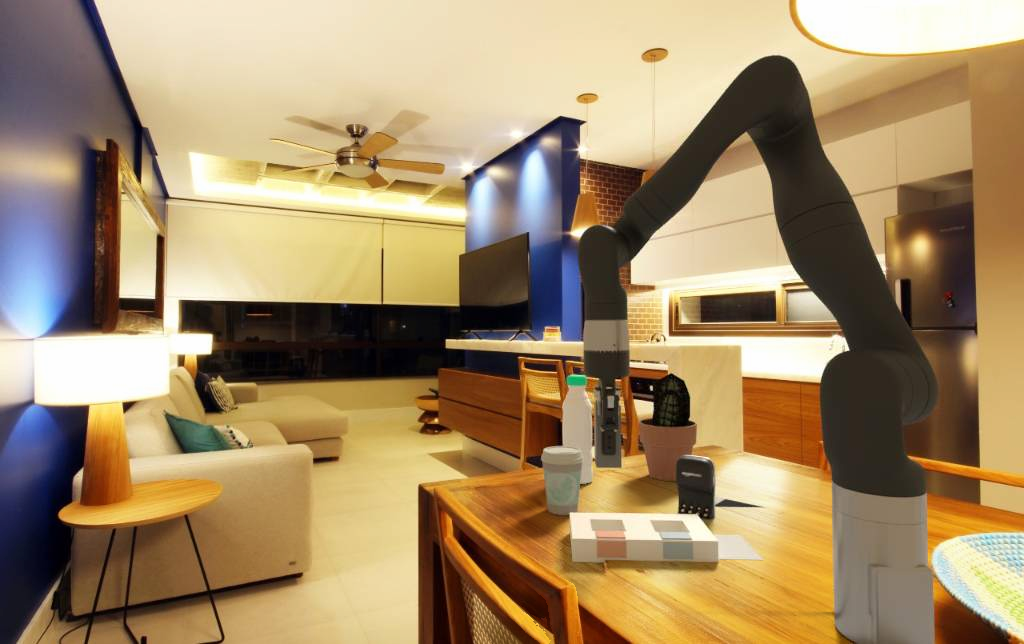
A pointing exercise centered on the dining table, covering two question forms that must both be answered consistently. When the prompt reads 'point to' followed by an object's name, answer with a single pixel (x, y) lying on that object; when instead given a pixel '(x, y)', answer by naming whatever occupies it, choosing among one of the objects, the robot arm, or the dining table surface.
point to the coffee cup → (562, 478)
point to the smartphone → (731, 503)
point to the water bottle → (578, 423)
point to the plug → (601, 459)
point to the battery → (696, 486)
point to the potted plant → (668, 428)
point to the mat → (735, 548)
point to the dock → (641, 537)
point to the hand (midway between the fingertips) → (607, 451)
